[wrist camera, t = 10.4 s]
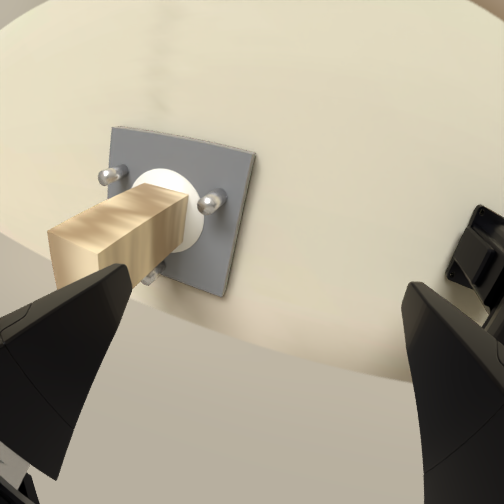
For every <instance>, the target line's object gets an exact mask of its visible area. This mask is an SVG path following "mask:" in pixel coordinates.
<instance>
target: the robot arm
mask: <svg viewBox="0 0 504 504" xmlns="http://www.w3.org/2000/svg"><path fill="white" fill-rule="evenodd" d="M481 209H482V213H481V214H479V212H480V210H481ZM453 256H454V257H453V259H452V261H451V263H450V265H449V266H448V268H447V270H446V276H447V278H448V279H449V280H450V281H453V282H456V283H458V284H461V285H463V286H466V287H468V288H471V289H473V290H474V291H475V292H476V294H477V295H478V297H479V299H480V300H481V302H482V304H483V305H484V307H485V309H486V311H487V312H488V314H489V316H488V318H487V320H486V321H485V323H484V325H483V326H482V327H480V326H479V325H478V324H477V323H475V322H474V321H473V320H472V319H470V318H469V317H468V316H467V315H465V314H464V313H463V312H461V311H460V310H459V309H458V308H456V307H455V306H454V305H452V304H451V303H450V302H448V301H447V300H446V299H444V298H443V297H442V296H440V295H439V294H438V293H436V292H435V291H434V290H432V289H431V288H429V287H428V286H427V285H425V284H424V283H422V282H410V283H409V284H408V286H407V289H406V292H405V295H404V298H403V301H402V306H401V311H402V318H403V325H404V333H405V342H406V350H407V356H408V361H409V366H410V371H411V376H412V381H413V387H414V392H415V398H416V405H417V411H418V419H419V427H420V435H421V445H422V457H423V471H424V504H504V217H502V216H500V215H499V214H497V213H495V212H494V211H492V210H490V209H488V208H487V207H485V206H483V205H478V206H476V208H475V210H474V213H473V215H472V218H471V220H470V222H469V225H468V227H467V228H466V229H465V231H464V234H463V236H462V238H461V240H460V242H459V244H458V246H457V249H456V251H455V253H454V255H453ZM452 272H453V274H452V275H450V273H452ZM131 292H132V282H131V278H130V275H129V271H128V268H127V266H126V265H125V264H119V263H114V264H112V265H110V266H108V267H105V268H103V269H101V270H99V271H97V272H94V273H92V274H90V275H88V276H86V277H84V278H81V279H79V280H77V281H75V282H73V283H71V284H69V285H67V286H65V287H62V288H60V289H58V290H56V291H54V292H52V293H50V294H48V295H46V296H44V297H42V298H40V299H38V300H36V301H34V302H33V303H30V304H28V305H26V306H24V307H22V308H20V309H18V310H16V311H14V312H12V313H9V314H7V315H5V316H3V317H1V318H0V504H40V503H39V500H38V497H37V494H36V491H35V487H34V484H33V480H32V477H31V475H29V474H28V473H27V470H28V468H29V466H30V464H31V465H32V466H34V467H35V468H37V469H38V470H40V471H41V472H43V473H44V474H46V475H47V476H49V477H50V478H52V479H54V480H55V481H56V480H57V478H58V476H59V473H60V469H61V466H62V463H63V460H64V457H65V454H66V451H67V448H68V445H69V443H70V440H71V437H72V434H73V431H74V430H73V429H74V428H75V426H76V423H77V420H78V418H79V415H80V413H81V410H82V408H83V405H84V403H85V400H86V398H87V395H88V393H89V390H90V388H91V385H92V383H93V381H94V379H95V376H96V374H97V372H98V370H99V367H100V365H101V363H102V361H103V358H104V356H105V354H106V352H107V350H108V348H109V345H110V343H111V341H112V339H113V337H114V335H115V333H116V331H117V328H118V326H119V324H120V321H121V318H122V316H123V313H124V310H125V308H126V305H127V302H128V300H129V297H130V295H131Z"/></svg>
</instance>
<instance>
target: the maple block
mask: <svg viewBox="0 0 504 504" xmlns="http://www.w3.org/2000/svg"><path fill="white" fill-rule="evenodd" d="M188 197H189V194H185V193H181V192H178V191H174V190H170V189H167V188H163V187H159V186H155V185H152V184H148V183H143V184H140V185H138V186H136V187H134V188H131V189H129V190H127V191H125V192H123V193H120V194H118V195H116V196H114V197H112V198H110V199H108V200H106V201H104V202H101V203H99V204H97V205H95V206H93V207H91V208H89V209H87V210H85V211H83V212H82V213H80V214H78V215H76V216H74V217H72V218H70V219H68V220H66V221H65V222H63V223H61V224H59V225H57V226H55V227H54V228H52V229H50V230H48V231H47V233H48V240H49V247H50V254H51V260H52V266H53V270H54V276H55V281H56V285H57V290H58V289H60V288H62V287H65V286H67V285H69V284H71V283H73V282H75V281H77V280H79V279H81V278H84V277H86V276H88V275H90V274H92V273H94V272H97V271H99V270H101V269H103V268H105V267H108V266H110V265H112V264H114V263H119V264H125V265H126V266H127V268H128V271H129V275H130V278H131V282H132V289H133V288H134V287H135V286H136V285H137V284H138V283H139V282H140V281H141V280H142V279H143V278H145V277H146V276H147V275H148V274H149V273H150V272H151V271H152V270H153V269H154V268H155V267H156V266H157V265H158V264H159V263H160V262H161V261H163V260H164V259H165V258H166V257H167V256H168V255H169V254H170V253H171V252H172V251H173V250H174V249H176V248H177V247H178V246H179V245H180V244H181V243H182V242H183V237H184V228H185V220H186V212H187V204H188Z"/></svg>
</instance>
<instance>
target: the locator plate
mask: <svg viewBox="0 0 504 504" xmlns="http://www.w3.org/2000/svg"><path fill="white" fill-rule="evenodd" d="M255 154H256V153H255V152H251V151H247V150H243V149H239V148H235V147H231V146H226V145H222V144H218V143H213V142H208V141H204V140H199V139H194V138H189V137H184V136H178V135H173V134H167V133H161V132H155V131H149V130H143V129H136V128H129V127H122V126H118V127H112V132H111V143H110V155H109V169H106V170H103V171H100V173H99V175H98V180H99V183H100V184H101V185H102V186H106V185H108V199H110V198H112V197H114V196H116V195H118V194H120V193H123V192H125V191H127V190H129V189H131V188H134V187H136V186H138V185H140V184H143V183H148V184H152V185H155V186H159V187H163V188H167V189H170V190H174V191H178V192H181V193H185V194H189V197H188V204H187V212H186V220H185V228H184V237H183V242H182V243H181V244H180V245H179V246H178V247H177V248H176V249H174V250H173V251H172V252H171V253H170V254H169V255H168V256H167V257H166V258H165V259H164V260H163V261H161V262H160V263H159V264H158V265H157V266H156V267H155V268H154V269H153V270H152V271H151V272H150V273H149V274H148V275H147V276H146V277H145V278H143V279H142V280H141V282H142V283H143V284H144V285H150V284H151V283H152V282H153V281H154V280H155V279H156V278H157V277H158V276H159V275H160V274H161V275H163V276H166V277H168V278H171V279H174V280H176V281H179V282H182V283H184V284H187V285H190V286H192V287H195V288H198V289H200V290H203V291H206V292H209V293H211V294H214V295H217V296H220V297H222V296H223V294H224V293H225V291H226V287H227V282H228V277H229V273H230V268H231V263H232V258H233V254H234V249H235V244H236V240H237V235H238V230H239V226H240V221H241V217H242V212H243V208H244V203H245V199H246V194H247V190H248V185H249V181H250V176H251V172H252V168H253V163H254V159H255Z"/></svg>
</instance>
